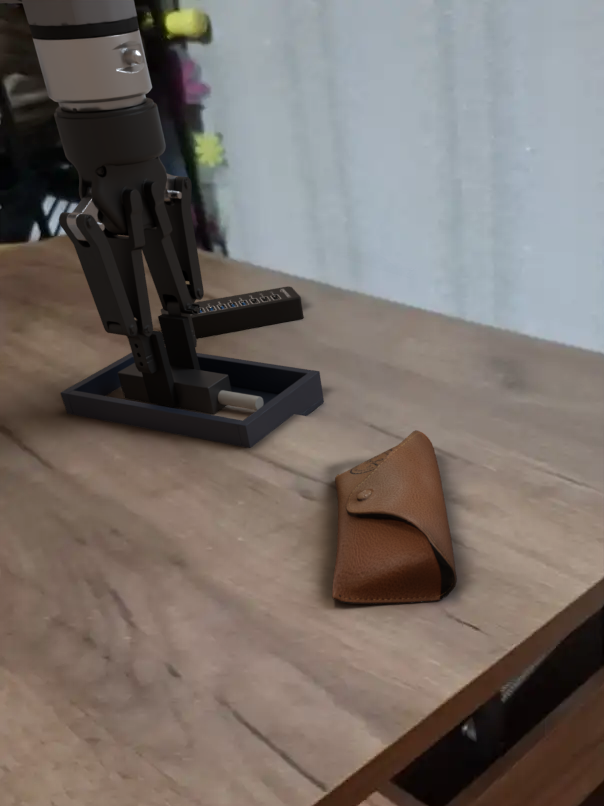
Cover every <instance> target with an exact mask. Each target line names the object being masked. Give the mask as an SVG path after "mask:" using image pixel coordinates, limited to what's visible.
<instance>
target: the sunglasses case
mask: <svg viewBox="0 0 604 806" xmlns="http://www.w3.org/2000/svg"><path fill="white" fill-rule="evenodd" d="M334 482H335V489H336V494H337V495H336V497H337V533H336V535H337V540H336V555H335V564H334V570H333V577H332V578H333V580H332V587H331V588H332V590H331V591H332V592H331V593H332V594H331V598H332V599H333V600H335V601H337V602H340V603H343V604H350V605H351V604H352V605H353V604H358V605H396V604H395V603H402V604H412V603H411V602H418V603H422V602H421V601H430V602H439V601H441V600H443V599H444V598H446V597H448V596H449V595H450V594H451V593H452V591H453V590H454V589H455V587H456V585H457V580H458V578H457V571H456V563H455V562H456V561H455V555H454V548H453V540H452V536H451V528H450V523H449V518H448V513H447V506H446V501H445V495H444V490H443V483H442V478H441V472H440V467H439V463H438V459H437V454H436V451H435V447H434V446H433V442H432V441H431V439H430V438H429V437H428V436H427V435H426V434H425V433H424V432H422V431H420V430H414V431H412V432H411V433H410V434H408V436H406V437H405V438H404V439H402V441H401V442H399V443H398V444H397V445H395V446H393V447H390V448H389V449H387V450H385V451H383V452H381V453H379V454H377V455H375V456H373V457H371V458H369V459H368V460H365V461H364V462H361V463H359V464H358V465H356V466H353V467H352V468H349V469H348V470H345V471H343V472H342V473H338V474H336V476H335V477H334Z"/></svg>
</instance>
